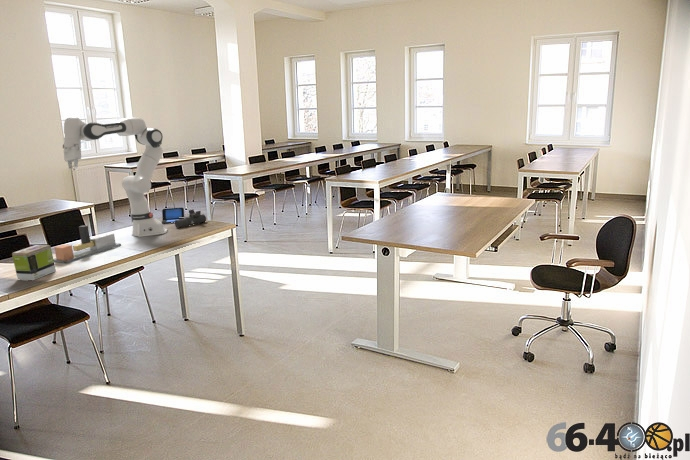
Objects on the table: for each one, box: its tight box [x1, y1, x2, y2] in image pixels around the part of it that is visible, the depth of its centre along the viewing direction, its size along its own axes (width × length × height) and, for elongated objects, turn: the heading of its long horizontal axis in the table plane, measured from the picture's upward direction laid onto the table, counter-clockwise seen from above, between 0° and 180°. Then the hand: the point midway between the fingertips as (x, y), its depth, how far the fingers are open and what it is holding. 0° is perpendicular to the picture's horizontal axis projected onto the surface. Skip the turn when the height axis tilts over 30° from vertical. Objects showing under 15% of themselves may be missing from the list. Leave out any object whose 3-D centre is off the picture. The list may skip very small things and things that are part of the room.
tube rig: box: [53, 232, 122, 264], centre depth 308 cm, size 38×12×8 cm, turn 155°
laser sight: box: [174, 208, 207, 229], centre depth 370 cm, size 10×22×10 cm, turn 137°
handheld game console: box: [161, 207, 185, 224], centre depth 385 cm, size 16×13×9 cm
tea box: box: [11, 244, 57, 282], centre depth 268 cm, size 15×10×15 cm, turn 163°
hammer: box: [72, 225, 95, 252], centre depth 311 cm, size 25×4×13 cm, turn 155°
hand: (73, 168), depth 311 cm, fingers open, 8 cm apart
